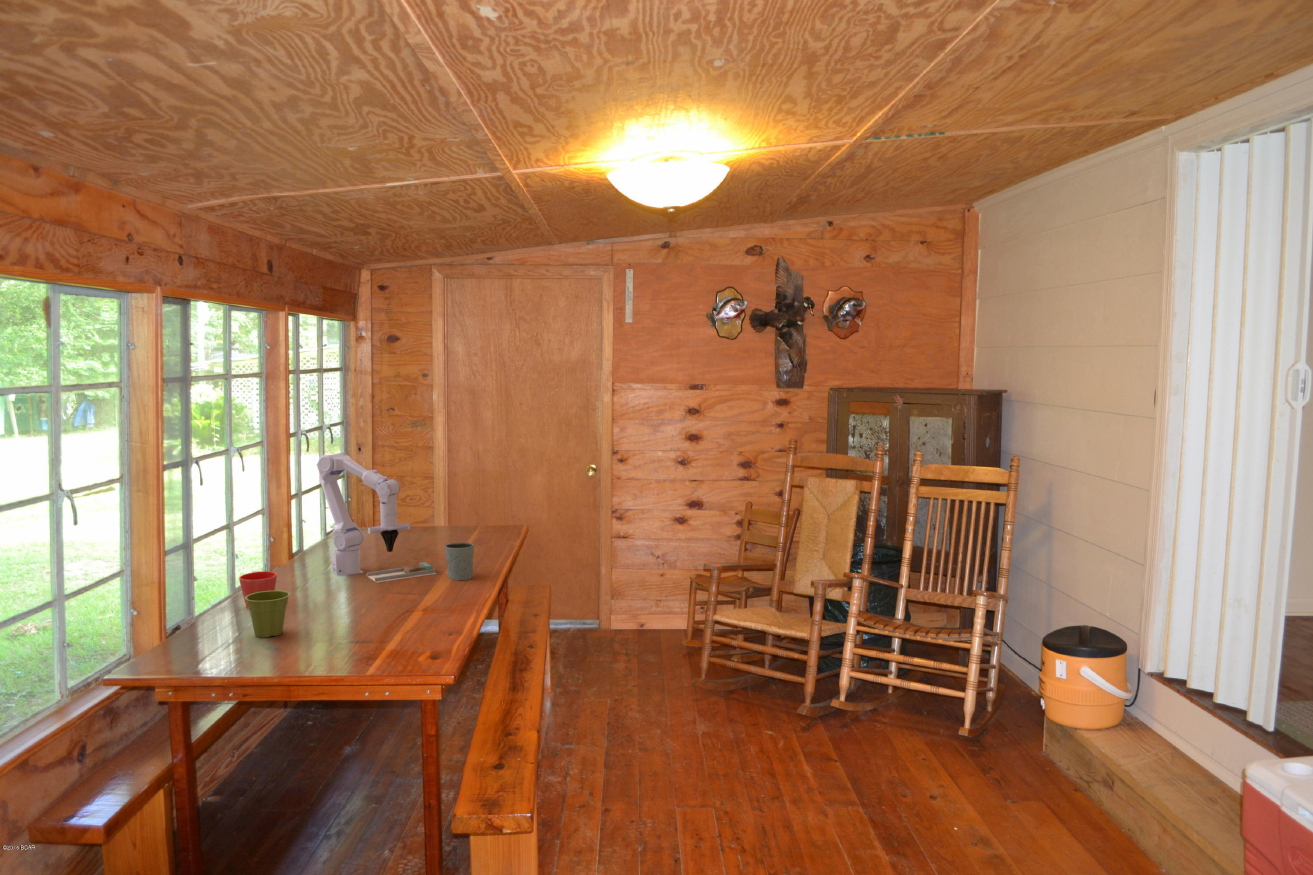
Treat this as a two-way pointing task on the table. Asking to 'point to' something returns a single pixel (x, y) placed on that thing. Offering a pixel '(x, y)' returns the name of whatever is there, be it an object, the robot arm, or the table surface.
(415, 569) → the block
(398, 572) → the track
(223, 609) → the table surface
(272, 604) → the plant pot
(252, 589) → the flower pot
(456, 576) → the grey tapered pot
